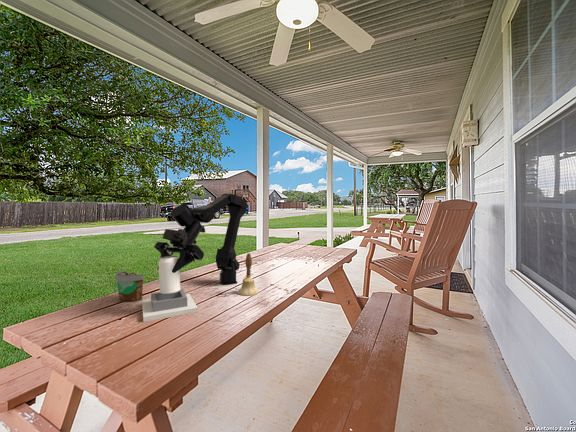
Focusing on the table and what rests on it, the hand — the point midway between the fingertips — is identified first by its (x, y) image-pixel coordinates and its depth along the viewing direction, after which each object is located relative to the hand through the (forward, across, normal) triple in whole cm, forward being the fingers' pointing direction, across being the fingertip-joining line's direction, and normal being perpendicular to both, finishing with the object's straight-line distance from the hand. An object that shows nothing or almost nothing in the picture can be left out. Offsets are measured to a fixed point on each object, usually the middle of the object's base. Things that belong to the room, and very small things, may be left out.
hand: (165, 271), depth 93 cm
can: (+5, +1, +6) cm, 8 cm away
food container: (+9, -21, +10) cm, 25 cm away
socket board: (+9, 0, +10) cm, 13 cm away
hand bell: (-9, +15, +29) cm, 34 cm away
